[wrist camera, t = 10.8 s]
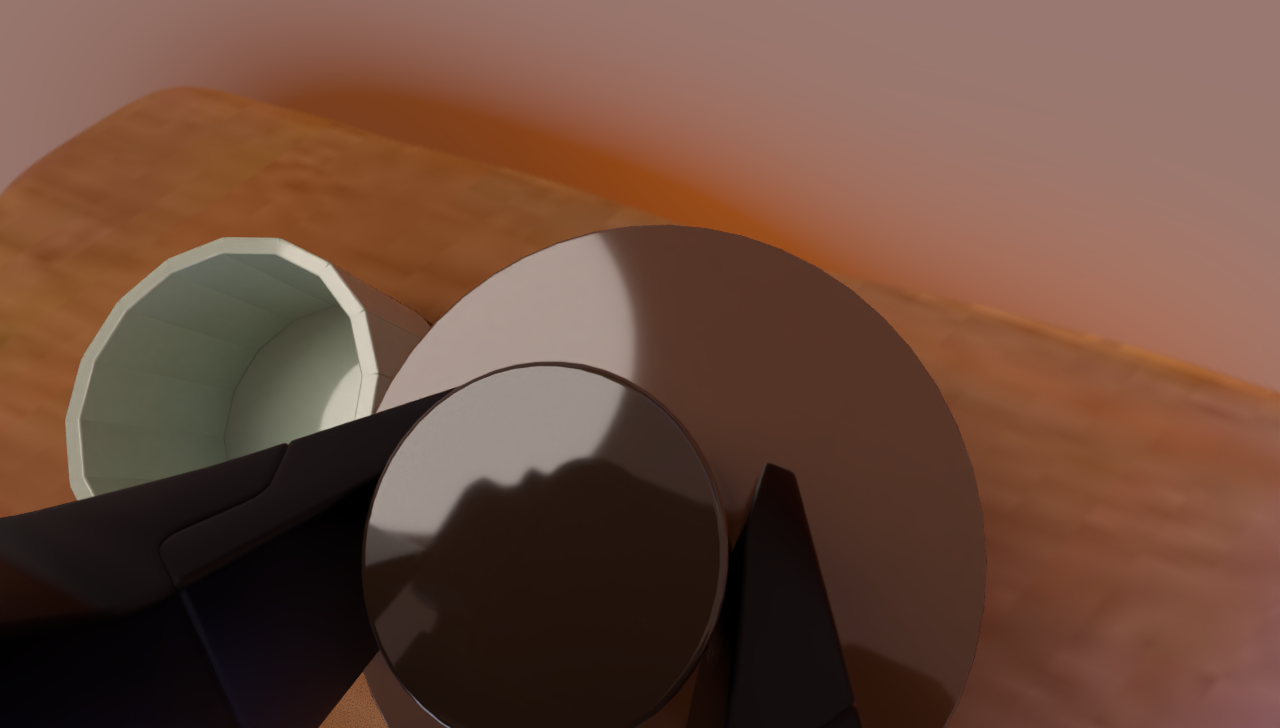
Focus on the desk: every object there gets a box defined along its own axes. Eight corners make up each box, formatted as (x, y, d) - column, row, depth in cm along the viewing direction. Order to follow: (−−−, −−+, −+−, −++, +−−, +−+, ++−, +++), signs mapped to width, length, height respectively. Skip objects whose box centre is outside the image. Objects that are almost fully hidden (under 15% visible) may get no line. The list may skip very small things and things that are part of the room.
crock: (513, 361, 24) (438, 316, 18) (378, 611, 22) (251, 650, 16) (310, 260, 26) (186, 190, 20) (178, 481, 25) (6, 475, 19)
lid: (1112, 572, 11) (1734, 689, 4) (602, 1016, 11) (359, 1926, 4) (683, 144, 14) (630, -197, 7) (279, 481, 14) (-176, 461, 7)
